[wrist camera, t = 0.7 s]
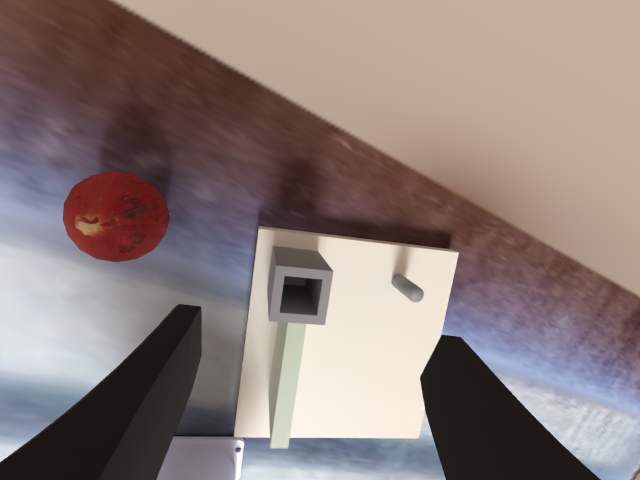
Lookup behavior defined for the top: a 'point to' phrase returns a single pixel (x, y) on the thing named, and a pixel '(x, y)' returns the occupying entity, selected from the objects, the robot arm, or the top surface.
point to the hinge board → (351, 338)
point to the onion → (115, 216)
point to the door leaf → (292, 327)
